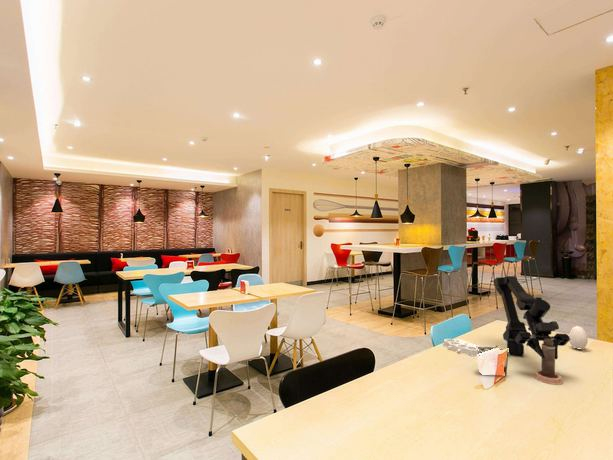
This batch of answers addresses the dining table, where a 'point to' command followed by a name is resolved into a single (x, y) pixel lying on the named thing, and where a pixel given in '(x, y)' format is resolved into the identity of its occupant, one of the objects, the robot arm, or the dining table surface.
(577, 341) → the egg
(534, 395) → the dining table surface
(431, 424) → the dining table surface
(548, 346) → the pepper mill
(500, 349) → the food container
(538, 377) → the dish
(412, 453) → the dining table surface
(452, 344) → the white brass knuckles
